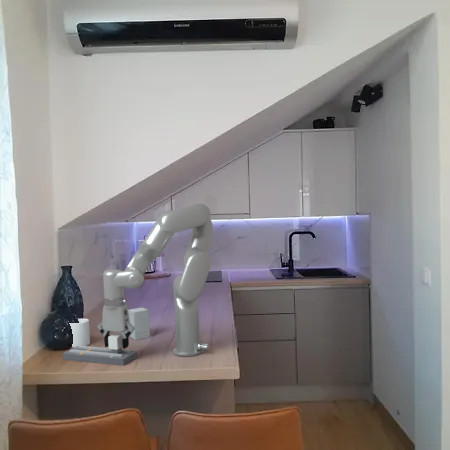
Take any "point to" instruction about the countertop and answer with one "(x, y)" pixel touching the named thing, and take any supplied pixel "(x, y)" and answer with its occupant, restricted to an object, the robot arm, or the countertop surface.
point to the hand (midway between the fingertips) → (116, 346)
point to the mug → (80, 333)
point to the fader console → (99, 355)
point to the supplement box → (139, 323)
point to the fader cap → (115, 343)
